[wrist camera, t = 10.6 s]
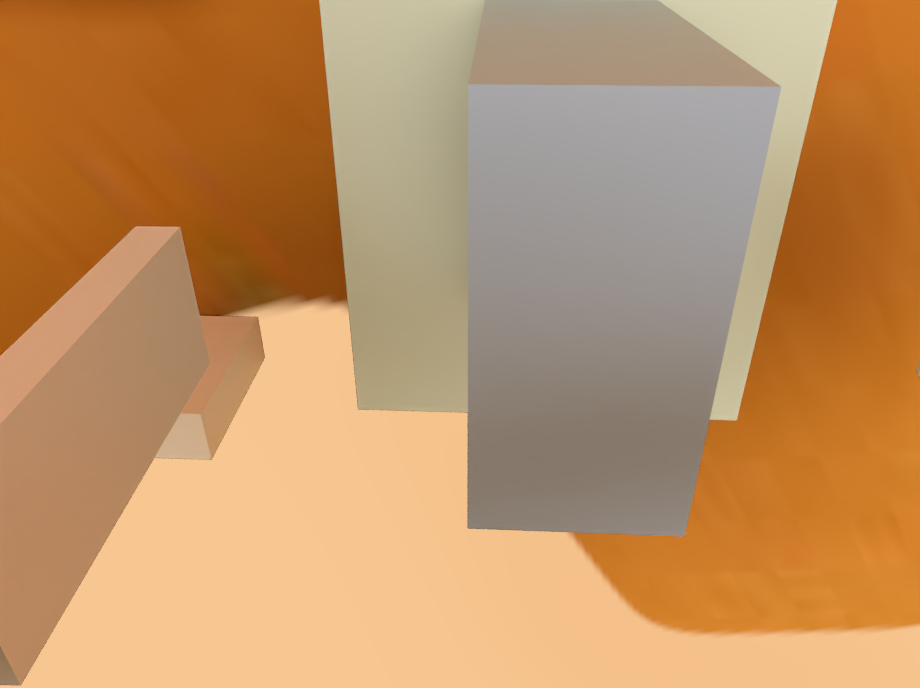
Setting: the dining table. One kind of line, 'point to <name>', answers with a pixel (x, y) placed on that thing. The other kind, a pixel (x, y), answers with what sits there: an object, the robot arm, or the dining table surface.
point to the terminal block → (602, 258)
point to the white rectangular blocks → (217, 387)
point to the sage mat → (446, 180)
